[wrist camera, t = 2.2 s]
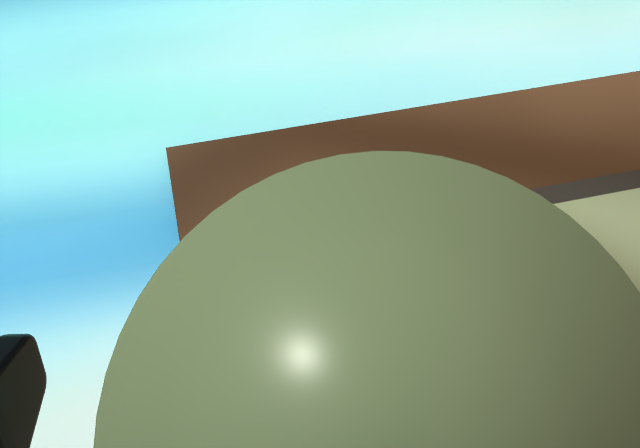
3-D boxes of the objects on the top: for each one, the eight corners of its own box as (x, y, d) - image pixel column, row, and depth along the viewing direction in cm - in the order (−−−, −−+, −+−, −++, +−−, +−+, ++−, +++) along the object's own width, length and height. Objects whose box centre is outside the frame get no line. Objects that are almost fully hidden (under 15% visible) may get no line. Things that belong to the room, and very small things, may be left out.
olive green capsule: (405, 457, 15) (797, 700, 4) (251, 492, 15) (132, 908, 3) (370, 303, 16) (586, 111, 5) (225, 333, 16) (66, 201, 4)
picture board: (888, 686, 15) (917, 700, 14) (277, 879, 13) (276, 906, 12) (646, 77, 20) (659, 66, 19) (169, 155, 18) (165, 146, 17)
